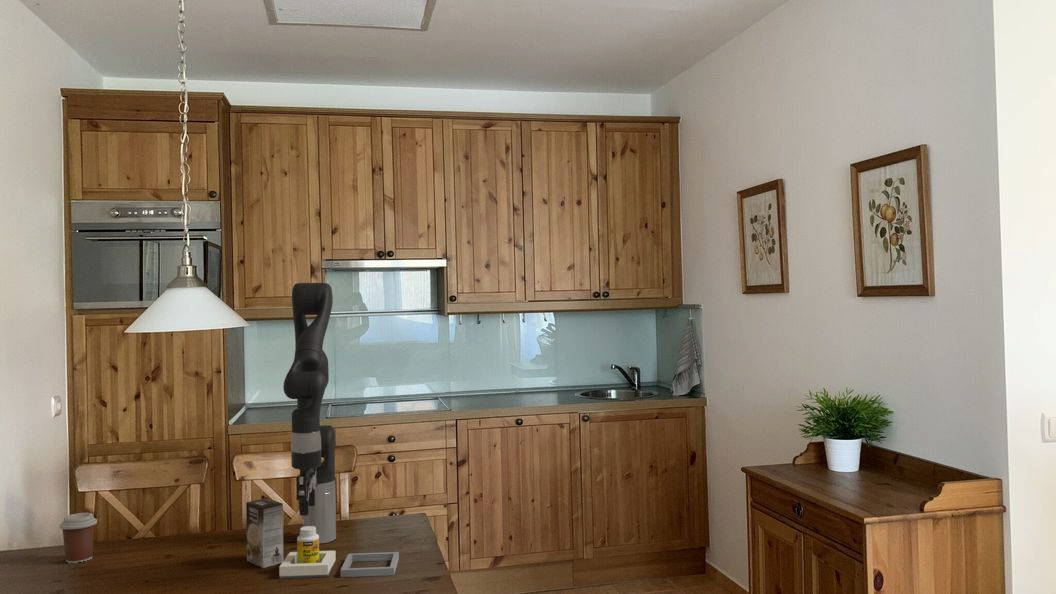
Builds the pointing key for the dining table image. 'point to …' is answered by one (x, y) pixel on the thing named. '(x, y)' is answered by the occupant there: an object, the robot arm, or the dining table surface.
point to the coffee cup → (78, 536)
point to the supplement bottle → (308, 545)
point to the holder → (307, 566)
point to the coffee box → (264, 532)
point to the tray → (372, 571)
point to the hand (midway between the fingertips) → (307, 510)
